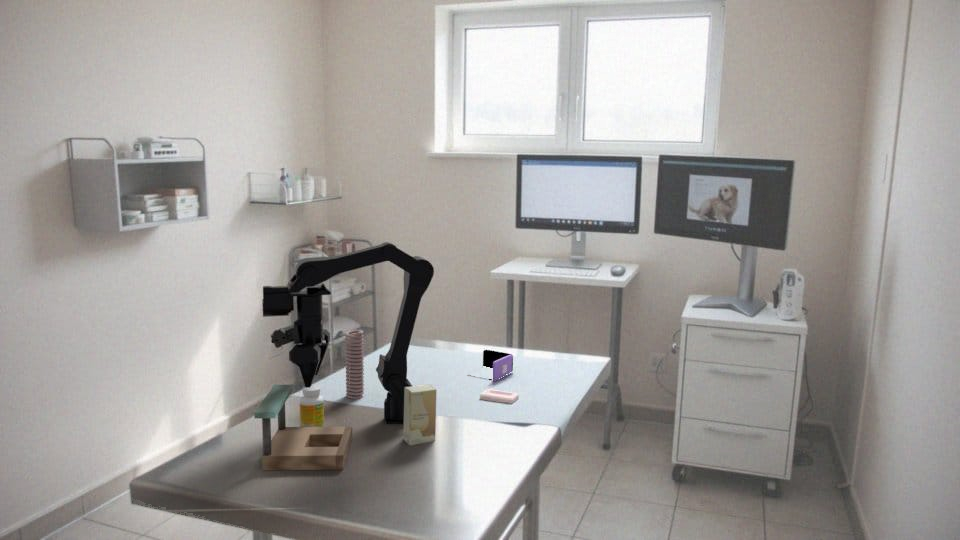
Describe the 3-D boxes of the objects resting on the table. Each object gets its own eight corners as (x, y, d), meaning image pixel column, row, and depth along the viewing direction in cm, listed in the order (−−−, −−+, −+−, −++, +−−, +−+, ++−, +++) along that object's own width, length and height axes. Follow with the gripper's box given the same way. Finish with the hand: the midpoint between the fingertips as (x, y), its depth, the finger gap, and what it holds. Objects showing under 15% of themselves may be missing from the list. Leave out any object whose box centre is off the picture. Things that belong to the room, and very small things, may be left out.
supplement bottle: (318, 433, 166) (317, 392, 165) (296, 431, 167) (295, 390, 166) (327, 425, 171) (327, 385, 170) (306, 423, 172) (305, 383, 171)
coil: (342, 398, 190) (341, 331, 188) (352, 393, 195) (351, 327, 192) (358, 401, 189) (357, 333, 186) (367, 396, 193) (366, 329, 190)
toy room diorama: (517, 376, 213) (518, 353, 212) (496, 386, 203) (496, 363, 202) (482, 369, 220) (483, 347, 219) (460, 379, 210) (460, 356, 209)
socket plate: (352, 437, 164) (352, 384, 162) (342, 471, 146) (341, 412, 144) (275, 438, 163) (274, 384, 161) (256, 472, 145) (254, 412, 143)
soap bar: (511, 408, 187) (511, 398, 186) (479, 402, 190) (479, 393, 190) (519, 401, 191) (519, 393, 191) (487, 396, 195) (487, 388, 195)
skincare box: (410, 446, 160) (410, 392, 158) (402, 439, 163) (402, 386, 162) (437, 441, 163) (437, 388, 161) (429, 435, 166) (429, 383, 165)
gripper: (282, 306, 174) (284, 369, 177) (263, 323, 156) (266, 394, 158) (329, 306, 175) (331, 369, 177) (316, 323, 156) (318, 393, 159)
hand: (311, 381), depth 168 cm, fingers open, 9 cm apart
